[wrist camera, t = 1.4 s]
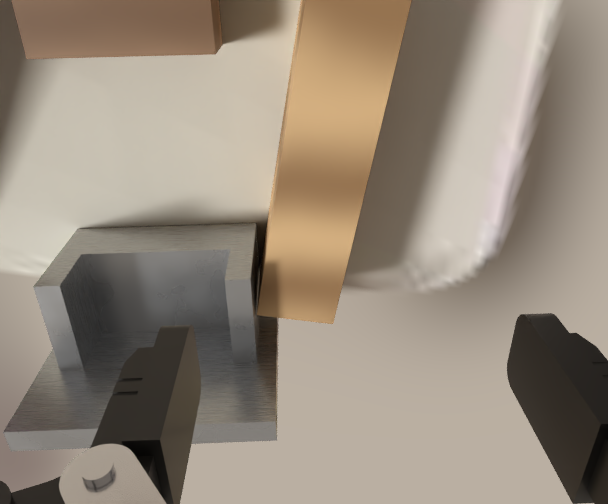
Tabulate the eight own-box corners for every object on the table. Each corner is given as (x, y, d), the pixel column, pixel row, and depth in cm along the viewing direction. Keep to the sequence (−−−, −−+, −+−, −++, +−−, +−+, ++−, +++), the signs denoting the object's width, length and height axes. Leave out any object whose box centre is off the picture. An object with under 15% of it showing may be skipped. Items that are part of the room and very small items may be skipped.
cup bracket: (59, 229, 30) (-35, 342, 21) (273, 222, 30) (269, 331, 21) (84, 319, 33) (10, 451, 24) (278, 312, 33) (276, 440, 24)
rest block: (30, -49, 23) (-2, -50, 20) (214, -53, 23) (205, -55, 21) (53, 48, 25) (26, 59, 22) (222, 44, 25) (215, 54, 23)
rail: (306, -35, 24) (311, -34, 20) (391, -19, 24) (415, -14, 20) (260, 265, 31) (256, 315, 27) (326, 274, 32) (332, 324, 28)
